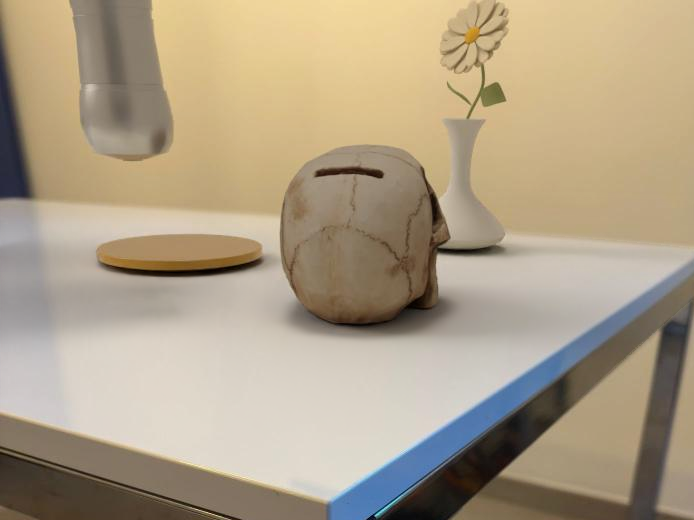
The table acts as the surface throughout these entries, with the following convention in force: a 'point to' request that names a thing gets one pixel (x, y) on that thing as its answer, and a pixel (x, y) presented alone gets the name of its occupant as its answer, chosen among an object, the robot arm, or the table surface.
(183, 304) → the table surface
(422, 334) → the table surface
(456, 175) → the flower in vase
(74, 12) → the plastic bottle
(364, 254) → the coin bank
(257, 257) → the plate
